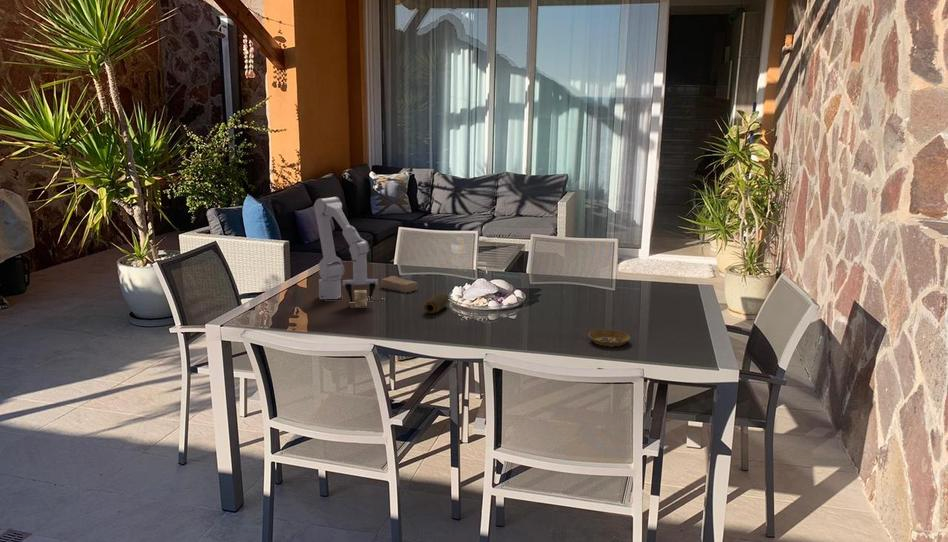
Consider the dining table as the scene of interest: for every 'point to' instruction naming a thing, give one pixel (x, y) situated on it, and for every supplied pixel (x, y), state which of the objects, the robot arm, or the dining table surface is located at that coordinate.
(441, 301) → the brown hollow tube
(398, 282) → the brick
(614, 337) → the plant saucer
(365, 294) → the birch block
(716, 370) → the dining table surface
